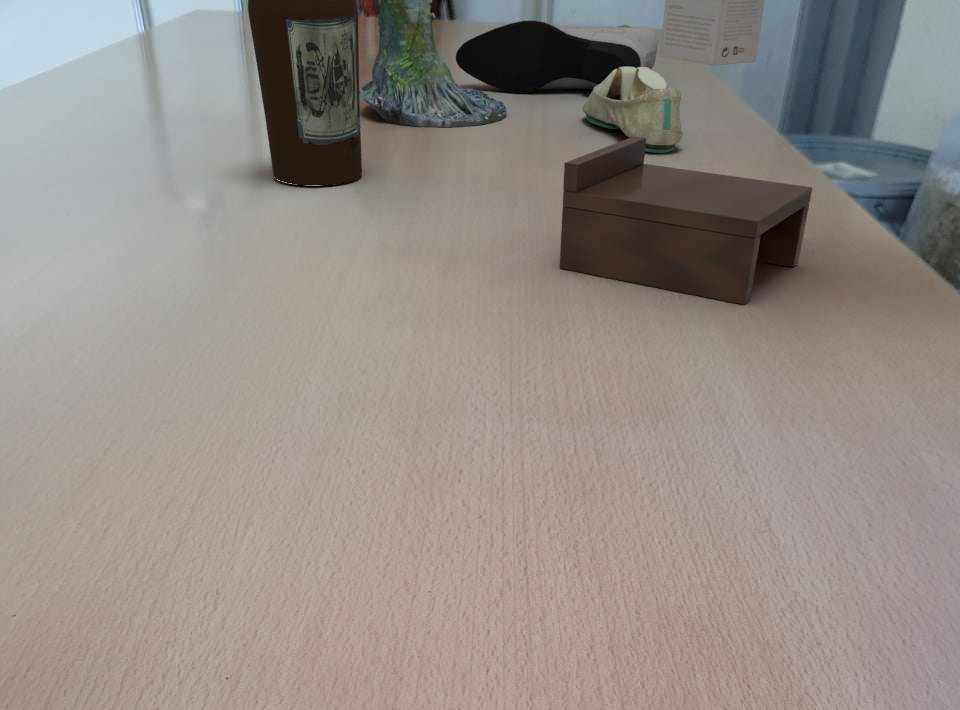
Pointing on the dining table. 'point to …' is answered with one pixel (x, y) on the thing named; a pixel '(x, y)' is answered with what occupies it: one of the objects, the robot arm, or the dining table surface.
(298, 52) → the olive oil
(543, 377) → the dining table surface
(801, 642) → the dining table surface
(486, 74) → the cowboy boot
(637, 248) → the shelf
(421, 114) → the tree stump
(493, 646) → the dining table surface
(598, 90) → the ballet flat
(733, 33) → the cosmetic box
